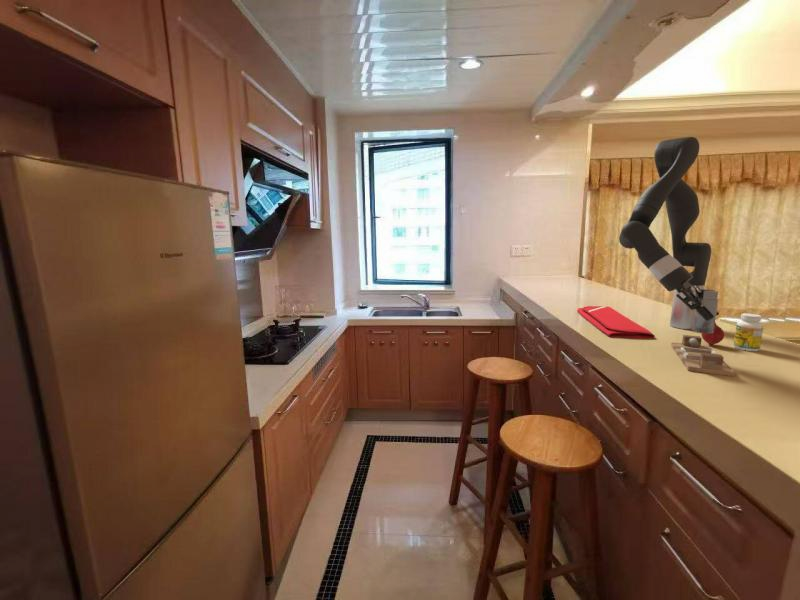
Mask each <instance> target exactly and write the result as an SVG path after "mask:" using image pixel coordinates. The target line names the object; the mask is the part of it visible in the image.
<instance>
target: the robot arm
mask: <svg viewBox="0 0 800 600" xmlns="http://www.w3.org/2000/svg"><path fill="white" fill-rule="evenodd" d="M699 153H700V142H699V140H698V138H696V136H695V137H693V136H687V137H686V136H685V137H678V138H670V139H666V140H661V141H660V142H658V143H657V145H656V146H655V150H654V155H653V156H654V164H655V167H656V171H657V174H658V177H659V179H657V180H656V181H655V182H653V184H651V185H650V186H649V187H648V188H646V189H645V190H644V192H643V193H642V194H641V196H640V197H639V199H638V200H637V202H636V204H635V206H634V207H633V209H632V212H631V216H630V217H629V219H628V221H627V223H624V225H623V226H622V229H621V231H620V233H619V237H618V240H619V241H618V242H619V243H620V245H621V246H622V247H623V248H625V249H628V250H629V249H635V250H636V252H637V258H638V260H639V261H640V262H641V263H642V264H643V265H644V266H645V267H646V268H647V269H648V270H649V272H650V273H651V275H652V276H653V277H654V278H655V279H656V280H657V282H659V283H660V284H661V285H662V287H664V288H665V289H666V291H668V292H673V297H672V298H673V299H672V304H671V305H672V306H671V314H670V319H669V326H670V327H673V328H676V329H681V330H682V329H683V330H693V324H694V318H695V311H697V312H698V313H699V314H700V315H701V316H702V317H703V318H704V319H705V320H706V321H708V320H710V319H712V318H714V315H713V314H712V313H711V312H710V311H709V310H708V309H707V308H706V307H704V304H703V303H702V302H701V301H700V299H701V298H700V297H699V296H700V289H705V288H706V287H705V286H706V280H707V277H708V271H709V267H710V263H711V258H712V246H711V245H710V243H708V242H693V241H692V242H688V241H687V239H686V237H687V233H688V232H689V230H690V229H691V227H692V226H693V225H694V224H695V222H696V221H697V219H698V218H699V216H700V211H701V210H700V204H699V198H698V195H697V193H696V192H695V190H694V189H693V188H692V187H691V186H690V185H689V184H688V183H686V182H685V180H683V177H684V176H685V175H686V174H687V172H688V171H689V170H690V168H691V167H692V166H693V164H694V163H695V161H696V160H697V157H698V155H699ZM664 203H665V209H666V214H667V219H668V223H669V227H670V228H669V229H670V234H671V247H672V248H671V249H672V254H670V253H669V252H668V251H667V250H666V249H665V248H664V247H663V246H662V245H661V244H660V243H659V242H658V240H657V239H656V237H655V235H654V234H653V232H652V230H650V227H651V225H652V223H653V221H655V219H656V218H657V216H658V215H659V213H660V211H661V208H662V207H663V205H664ZM686 267H692V268H693V270H692V271H690V272H689V270H688V269H687V268H686ZM719 314H720V313H719V312H718V310H717V313H716V317H717V316H719Z"/></svg>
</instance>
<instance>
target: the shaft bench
mask: <svg viewBox="0 0 800 600" xmlns="http://www.w3.org/2000/svg"><path fill="white" fill-rule="evenodd" d="M702 339H703V338H702V336H700V335H699V336H698V335H691V334H690V335H688V334H682V341H681V342H671V343H670V344H671V345H670V346H671V347H672V350H673V351H674V352H675V354H676V355H677V357H678V358H679V359H680V361H681V362H682V364H683V366H684V367H685V368H686V370H687V371H689V372H694V373H696V372H697V373H703V374H711V375H719V376H720V375H721V376H728V377H735V374H736V373H735V372H736V371H734V370H733V369H732V368H731V367H730V366H729V364H727V363H726V362H725V360H724V356H723V355H722V354H719V353H717V352H716V351H715V350H714V349H713V348H712V347H711V345H702Z"/></svg>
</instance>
